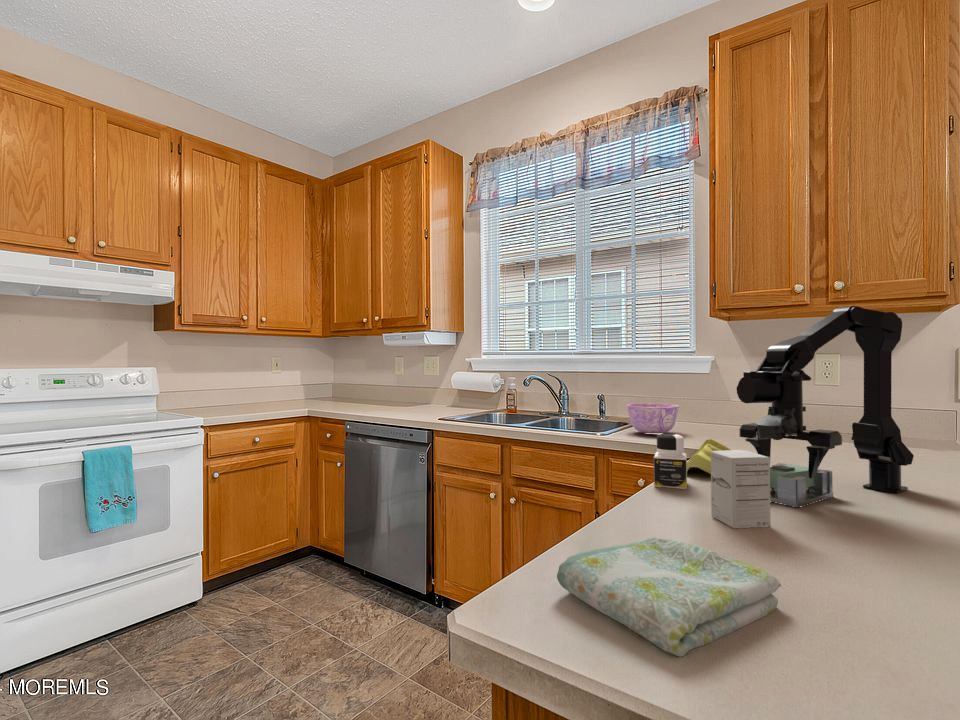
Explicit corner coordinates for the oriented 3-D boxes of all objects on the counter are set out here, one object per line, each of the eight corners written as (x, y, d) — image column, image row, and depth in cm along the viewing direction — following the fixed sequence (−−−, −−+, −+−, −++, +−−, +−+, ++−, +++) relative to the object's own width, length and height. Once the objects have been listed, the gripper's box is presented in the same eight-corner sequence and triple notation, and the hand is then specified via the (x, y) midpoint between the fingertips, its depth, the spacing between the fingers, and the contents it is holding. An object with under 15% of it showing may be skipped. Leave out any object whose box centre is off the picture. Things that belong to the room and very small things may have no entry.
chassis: (780, 486, 120) (780, 463, 120) (833, 496, 111) (832, 471, 111) (744, 496, 112) (743, 471, 112) (797, 508, 103) (797, 480, 103)
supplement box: (710, 517, 98) (709, 450, 98) (747, 515, 99) (746, 449, 99) (732, 529, 91) (731, 457, 91) (772, 527, 91) (771, 456, 91)
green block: (790, 479, 116) (789, 461, 116) (817, 485, 111) (816, 466, 111) (759, 484, 112) (759, 466, 112) (786, 490, 107) (785, 471, 107)
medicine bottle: (654, 486, 122) (653, 436, 122) (655, 480, 128) (655, 432, 128) (686, 489, 119) (686, 437, 119) (686, 482, 126) (686, 433, 126)
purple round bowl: (679, 438, 196) (679, 407, 196) (624, 436, 203) (624, 406, 203) (679, 431, 214) (678, 403, 214) (629, 429, 222) (629, 402, 222)
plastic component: (729, 471, 127) (690, 450, 132) (716, 496, 129) (677, 475, 134) (739, 452, 144) (704, 435, 149) (727, 475, 146) (693, 457, 151)
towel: (787, 610, 62) (787, 567, 62) (674, 667, 51) (673, 615, 51) (662, 561, 78) (661, 527, 78) (553, 597, 66) (553, 557, 66)
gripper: (724, 401, 115) (725, 471, 115) (815, 407, 99) (816, 488, 99) (752, 399, 121) (753, 465, 121) (842, 403, 105) (843, 480, 105)
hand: (788, 474), depth 112 cm, fingers open, 9 cm apart
